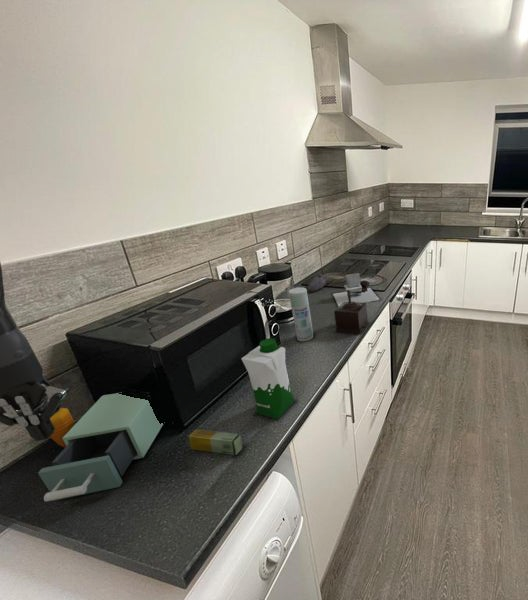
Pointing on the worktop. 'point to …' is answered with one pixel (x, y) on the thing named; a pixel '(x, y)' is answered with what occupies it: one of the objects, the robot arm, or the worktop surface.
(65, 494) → the green drawer
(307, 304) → the spray can
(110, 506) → the worktop surface
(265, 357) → the milk carton
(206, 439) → the medication box
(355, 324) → the manual coffee grinder
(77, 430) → the green drawer housing
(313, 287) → the perforated stone tool
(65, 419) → the carrot
